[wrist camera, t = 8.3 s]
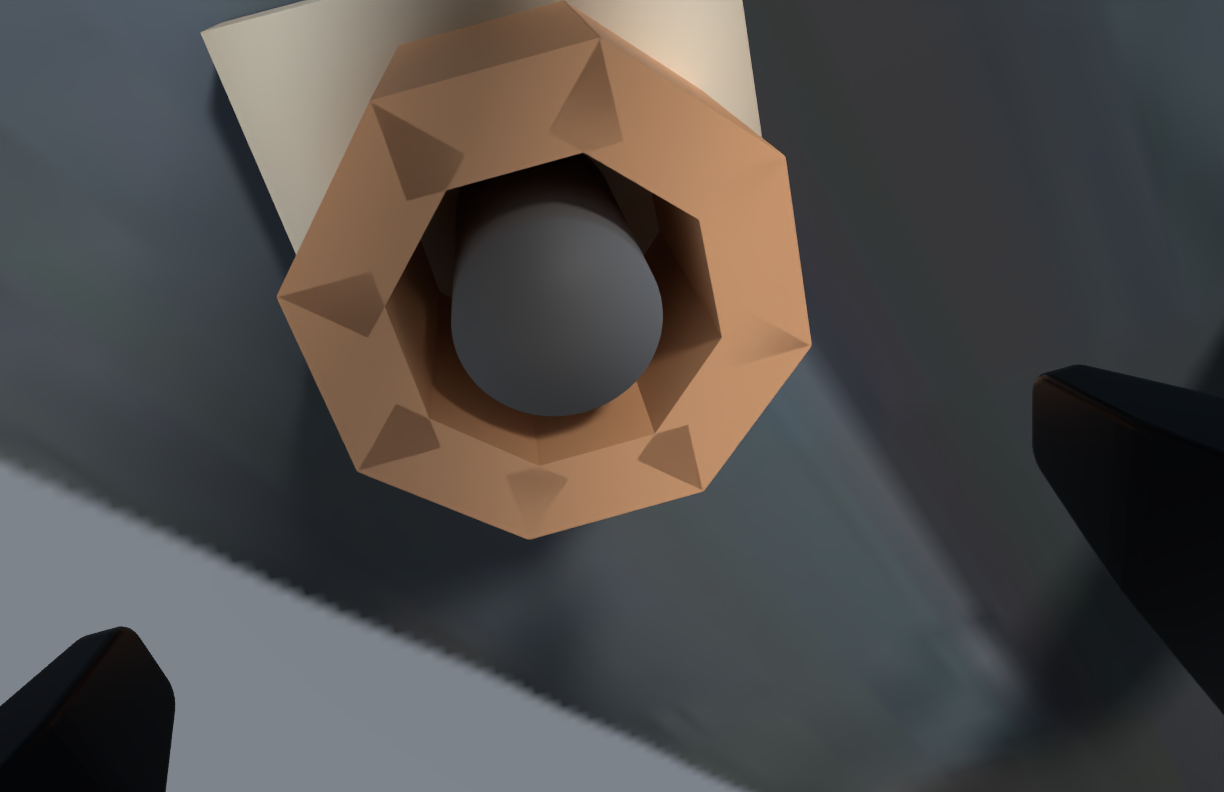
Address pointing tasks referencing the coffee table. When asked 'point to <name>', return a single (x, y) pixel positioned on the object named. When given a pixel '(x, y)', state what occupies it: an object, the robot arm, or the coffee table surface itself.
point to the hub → (421, 315)
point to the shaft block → (489, 183)
